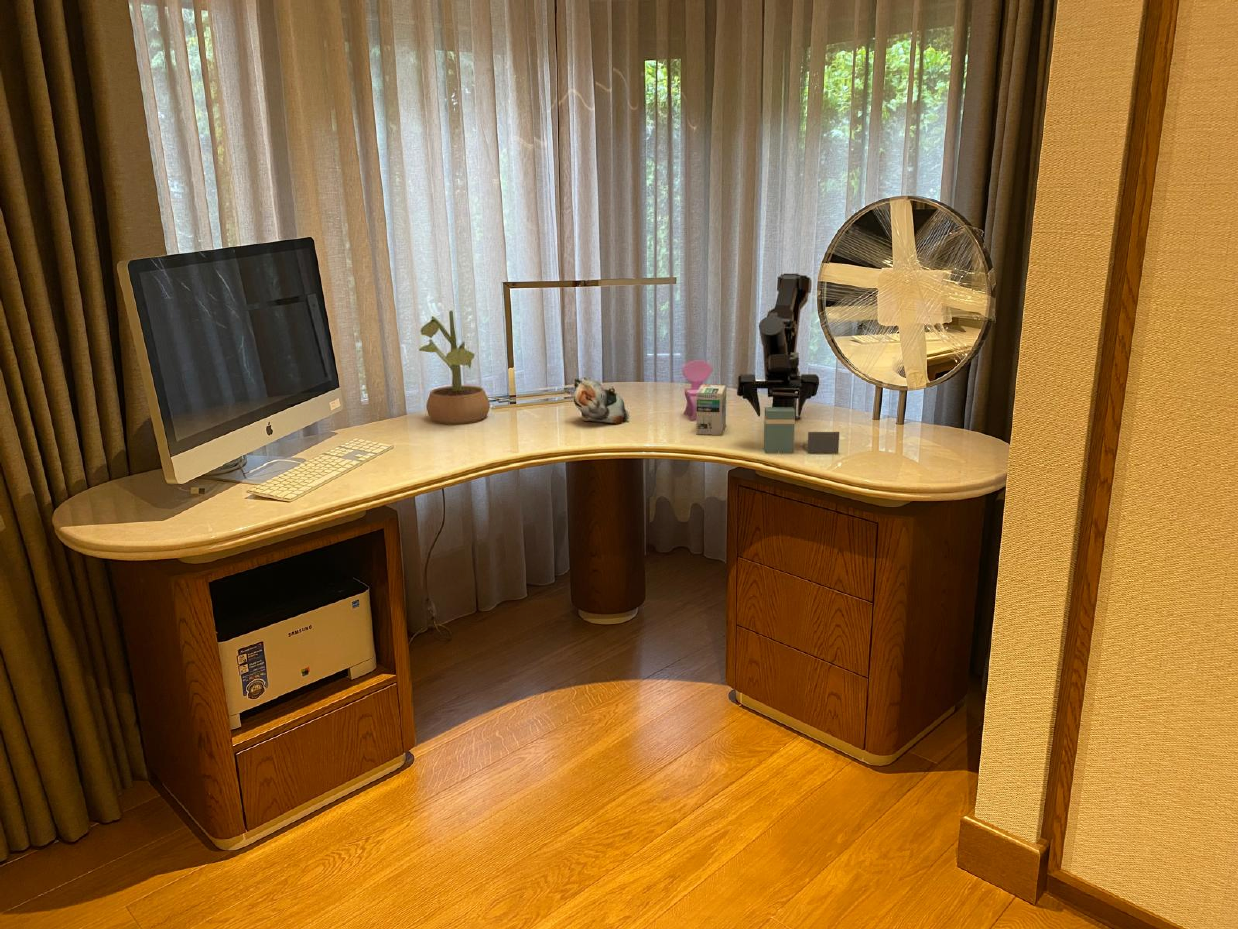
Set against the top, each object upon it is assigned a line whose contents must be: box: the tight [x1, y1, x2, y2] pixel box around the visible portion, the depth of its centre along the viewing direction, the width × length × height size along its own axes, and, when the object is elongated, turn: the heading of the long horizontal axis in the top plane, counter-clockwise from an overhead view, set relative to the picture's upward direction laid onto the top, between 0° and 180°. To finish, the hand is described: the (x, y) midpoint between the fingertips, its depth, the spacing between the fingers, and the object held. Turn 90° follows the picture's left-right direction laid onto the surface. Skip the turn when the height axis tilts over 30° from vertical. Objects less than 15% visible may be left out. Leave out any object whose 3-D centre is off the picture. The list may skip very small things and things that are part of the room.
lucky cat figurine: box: [573, 376, 630, 425], centre depth 244 cm, size 15×12×14 cm
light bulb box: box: [695, 384, 727, 436], centre depth 234 cm, size 11×7×11 cm, turn 168°
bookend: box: [802, 431, 840, 455], centre depth 216 cm, size 7×7×5 cm
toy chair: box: [681, 359, 713, 422], centre depth 247 cm, size 8×9×15 cm
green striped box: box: [762, 406, 796, 454], centre depth 214 cm, size 4×6×10 cm, turn 87°
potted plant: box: [418, 309, 491, 425], centre depth 244 cm, size 22×18×30 cm
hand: (779, 415), depth 213 cm, fingers open, 9 cm apart
